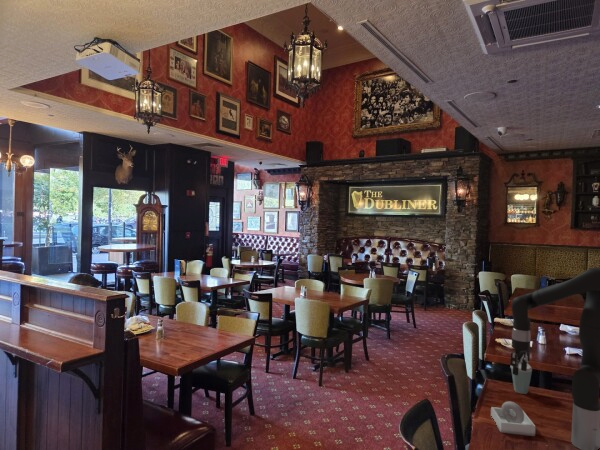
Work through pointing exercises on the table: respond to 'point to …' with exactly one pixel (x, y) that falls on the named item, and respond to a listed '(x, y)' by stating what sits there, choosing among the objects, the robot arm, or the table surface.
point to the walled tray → (512, 428)
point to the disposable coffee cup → (522, 379)
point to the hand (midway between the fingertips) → (519, 372)
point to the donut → (516, 408)
